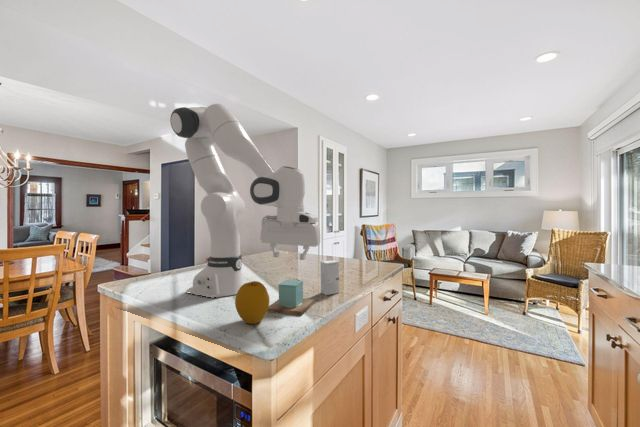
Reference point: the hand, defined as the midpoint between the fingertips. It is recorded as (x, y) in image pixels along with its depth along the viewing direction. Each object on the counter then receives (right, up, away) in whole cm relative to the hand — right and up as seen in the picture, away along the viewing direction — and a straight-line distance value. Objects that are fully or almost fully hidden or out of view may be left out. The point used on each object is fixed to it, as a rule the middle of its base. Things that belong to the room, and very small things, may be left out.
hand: (289, 258), depth 95 cm
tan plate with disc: (+1, -16, 0) cm, 16 cm away
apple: (-9, -17, -12) cm, 22 cm away
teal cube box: (+1, -15, 0) cm, 15 cm away
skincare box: (+14, -16, +16) cm, 26 cm away
